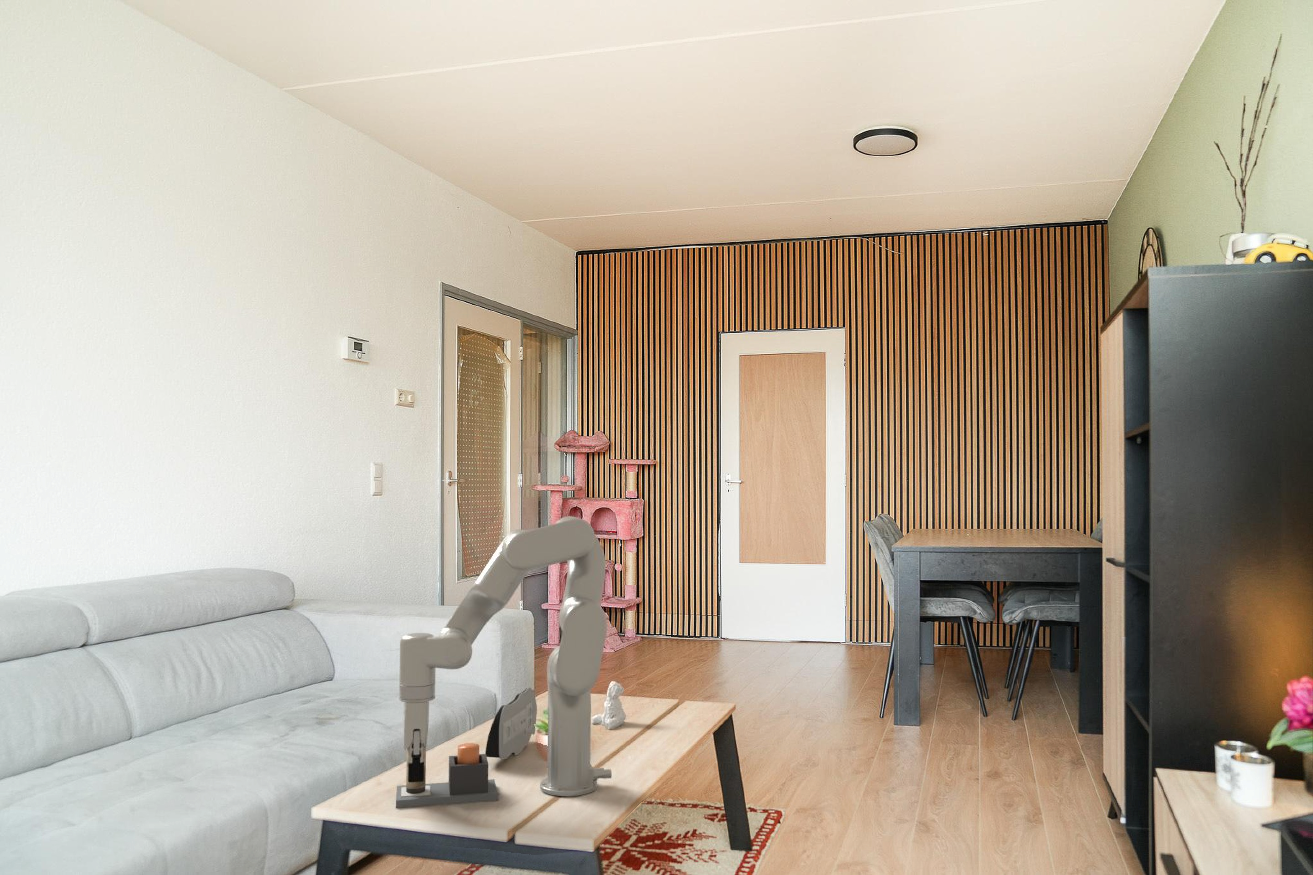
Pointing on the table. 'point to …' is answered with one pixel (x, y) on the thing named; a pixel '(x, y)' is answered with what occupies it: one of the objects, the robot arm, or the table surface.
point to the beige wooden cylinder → (415, 786)
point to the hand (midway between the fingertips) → (415, 777)
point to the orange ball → (468, 753)
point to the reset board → (454, 787)
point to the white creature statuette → (611, 709)
